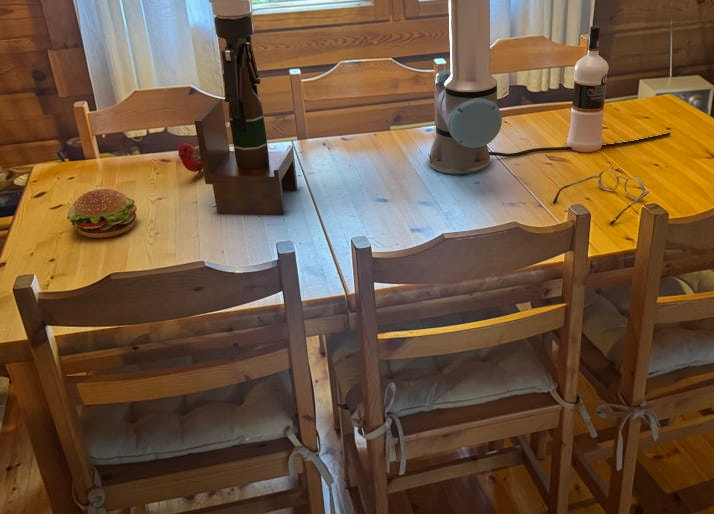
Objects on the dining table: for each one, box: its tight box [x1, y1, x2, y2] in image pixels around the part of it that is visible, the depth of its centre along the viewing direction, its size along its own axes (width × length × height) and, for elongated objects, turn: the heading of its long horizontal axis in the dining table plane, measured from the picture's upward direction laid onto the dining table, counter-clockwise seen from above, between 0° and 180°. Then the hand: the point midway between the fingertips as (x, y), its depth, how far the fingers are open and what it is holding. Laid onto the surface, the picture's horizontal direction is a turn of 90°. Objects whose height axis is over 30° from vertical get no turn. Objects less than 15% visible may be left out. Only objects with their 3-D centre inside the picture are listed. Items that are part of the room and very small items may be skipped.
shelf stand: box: [193, 98, 299, 216], centre depth 182 cm, size 16×15×21 cm
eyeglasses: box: [552, 168, 650, 225], centre depth 182 cm, size 17×15×5 cm
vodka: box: [566, 25, 610, 153], centre depth 205 cm, size 9×9×30 cm
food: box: [66, 188, 138, 239], centre depth 174 cm, size 14×14×8 cm
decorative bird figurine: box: [177, 142, 203, 180], centre depth 199 cm, size 3×18×10 cm, turn 165°
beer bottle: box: [228, 55, 269, 169], centre depth 176 cm, size 8×8×24 cm
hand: (247, 123), depth 177 cm, fingers open, 10 cm apart
